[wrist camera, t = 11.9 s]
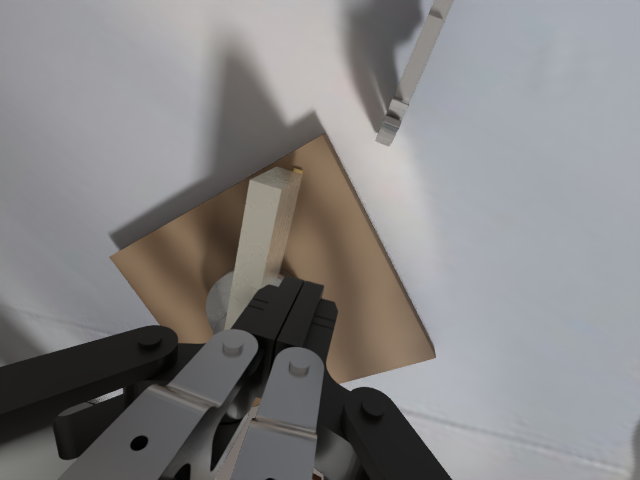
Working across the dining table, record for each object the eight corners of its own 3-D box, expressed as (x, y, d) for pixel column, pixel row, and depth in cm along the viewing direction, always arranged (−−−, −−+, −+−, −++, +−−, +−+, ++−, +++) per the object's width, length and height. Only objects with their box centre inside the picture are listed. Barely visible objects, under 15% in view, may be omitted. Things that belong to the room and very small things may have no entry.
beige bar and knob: (298, 359, 31) (278, 411, 26) (211, 328, 32) (174, 372, 27) (350, 185, 24) (338, 207, 19) (238, 151, 25) (195, 162, 20)
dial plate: (232, 403, 38) (225, 415, 36) (121, 250, 33) (107, 257, 32) (434, 346, 30) (436, 359, 28) (326, 133, 25) (321, 134, 23)
